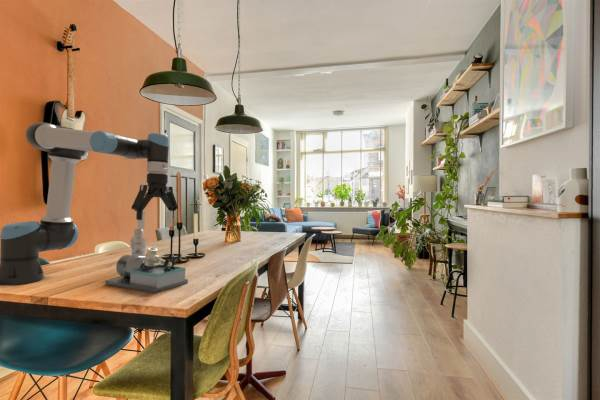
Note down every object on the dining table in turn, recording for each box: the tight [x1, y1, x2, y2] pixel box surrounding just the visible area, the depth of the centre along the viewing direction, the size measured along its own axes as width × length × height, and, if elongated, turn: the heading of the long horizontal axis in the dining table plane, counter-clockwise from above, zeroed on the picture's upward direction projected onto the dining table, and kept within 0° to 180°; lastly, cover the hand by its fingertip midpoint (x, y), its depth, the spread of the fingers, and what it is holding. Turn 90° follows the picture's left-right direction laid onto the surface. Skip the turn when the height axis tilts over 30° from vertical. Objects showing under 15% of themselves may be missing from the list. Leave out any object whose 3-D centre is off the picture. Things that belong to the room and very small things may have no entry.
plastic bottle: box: [130, 228, 147, 257], centre depth 146 cm, size 6×7×20 cm
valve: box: [144, 247, 178, 272], centre depth 126 cm, size 7×7×12 cm
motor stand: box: [105, 254, 189, 294], centre depth 128 cm, size 26×17×10 cm, turn 66°
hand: (155, 227), depth 126 cm, fingers open, 13 cm apart
